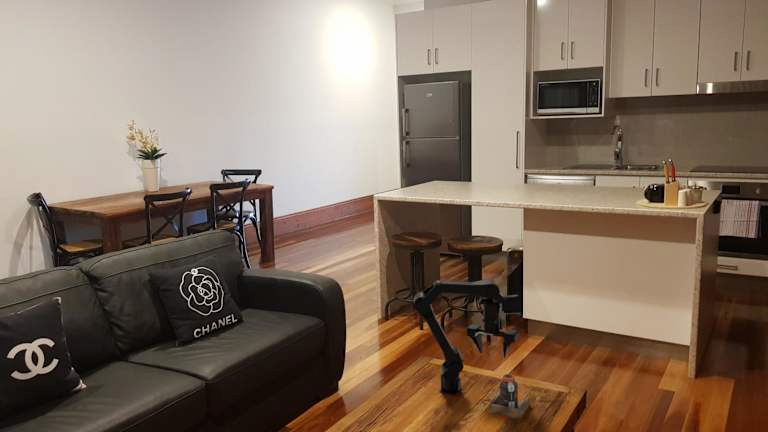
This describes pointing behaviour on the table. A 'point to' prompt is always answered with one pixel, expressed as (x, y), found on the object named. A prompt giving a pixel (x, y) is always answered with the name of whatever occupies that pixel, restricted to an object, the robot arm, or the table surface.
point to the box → (508, 411)
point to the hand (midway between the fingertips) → (493, 355)
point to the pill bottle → (509, 391)
